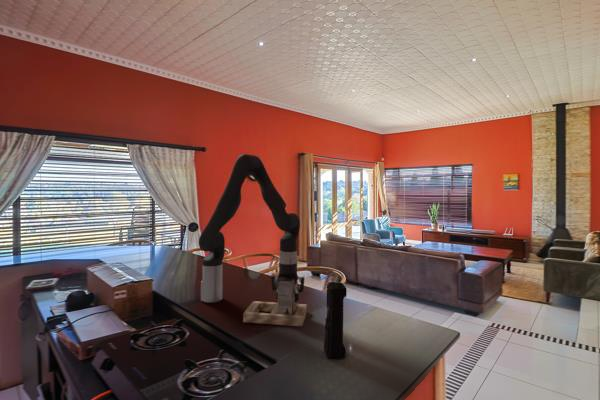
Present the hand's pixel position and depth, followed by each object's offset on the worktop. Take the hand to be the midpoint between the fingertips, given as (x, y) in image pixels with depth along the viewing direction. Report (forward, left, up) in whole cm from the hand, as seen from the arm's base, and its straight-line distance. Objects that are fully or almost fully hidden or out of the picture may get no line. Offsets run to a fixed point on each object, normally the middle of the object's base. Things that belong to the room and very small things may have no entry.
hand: (287, 301), depth 127 cm
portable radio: (+20, -25, -7) cm, 33 cm away
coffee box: (0, 0, -6) cm, 6 cm away
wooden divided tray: (-5, 0, -7) cm, 9 cm away
